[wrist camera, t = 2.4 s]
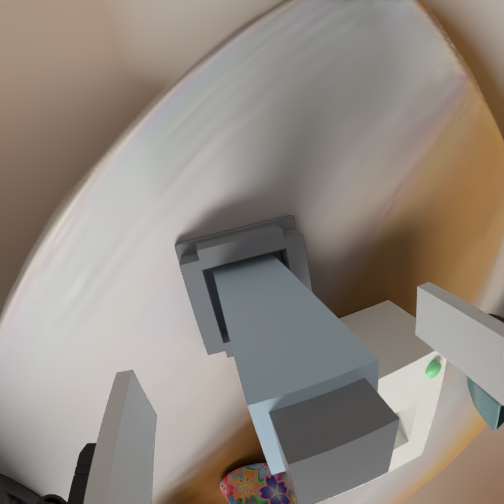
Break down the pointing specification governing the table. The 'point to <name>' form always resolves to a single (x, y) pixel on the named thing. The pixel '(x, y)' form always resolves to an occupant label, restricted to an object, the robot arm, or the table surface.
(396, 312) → the port panel
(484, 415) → the flower pot
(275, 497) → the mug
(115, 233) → the table surface
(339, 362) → the plug
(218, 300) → the holster
